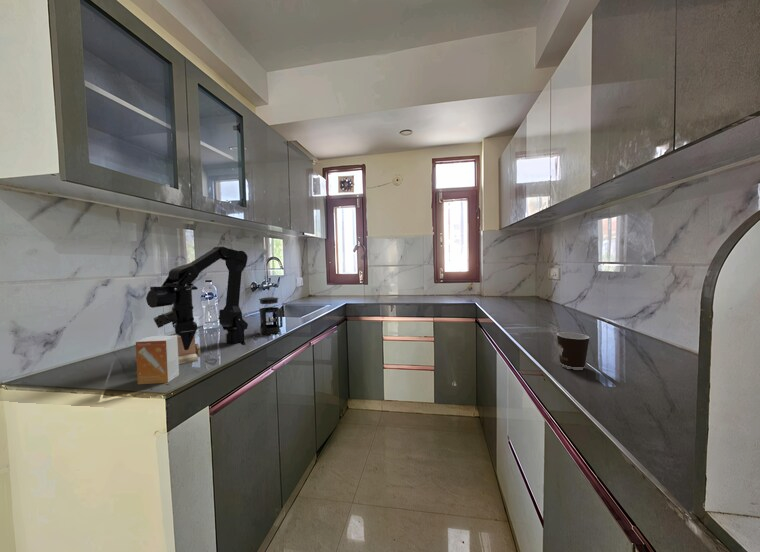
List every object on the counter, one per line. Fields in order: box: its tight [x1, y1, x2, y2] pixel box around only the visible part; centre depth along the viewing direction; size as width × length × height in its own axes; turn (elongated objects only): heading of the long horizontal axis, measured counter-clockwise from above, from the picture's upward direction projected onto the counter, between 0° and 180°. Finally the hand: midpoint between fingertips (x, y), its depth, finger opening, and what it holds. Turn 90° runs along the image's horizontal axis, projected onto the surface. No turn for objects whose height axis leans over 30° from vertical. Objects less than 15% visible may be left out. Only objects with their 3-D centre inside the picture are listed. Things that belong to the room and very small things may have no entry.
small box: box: [135, 334, 180, 386], centre depth 89 cm, size 8×6×13 cm
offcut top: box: [178, 353, 199, 365], centre depth 105 cm, size 6×4×2 cm
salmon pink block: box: [177, 334, 196, 356], centre depth 109 cm, size 6×3×9 cm, turn 127°
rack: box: [195, 343, 202, 358], centre depth 111 cm, size 9×8×4 cm
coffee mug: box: [556, 331, 590, 367], centre depth 97 cm, size 12×9×10 cm
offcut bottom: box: [179, 361, 198, 366], centre depth 105 cm, size 6×5×2 cm
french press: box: [258, 285, 283, 336], centre depth 148 cm, size 12×9×23 cm
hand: (185, 347), depth 109 cm, fingers open, 9 cm apart
